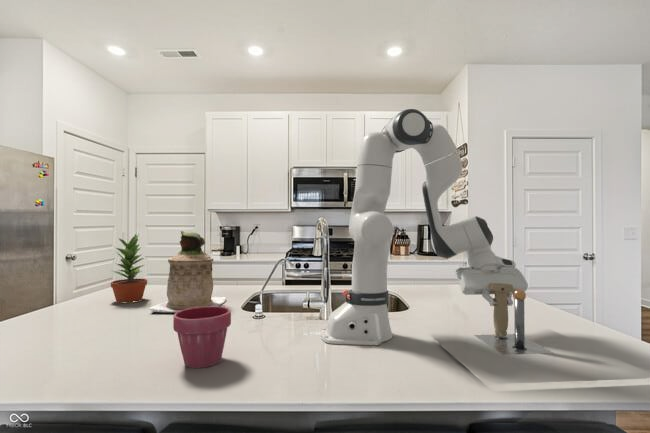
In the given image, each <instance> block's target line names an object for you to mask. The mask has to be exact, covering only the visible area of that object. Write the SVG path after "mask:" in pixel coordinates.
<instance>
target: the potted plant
mask: <svg viewBox="0 0 650 433" xmlns="http://www.w3.org/2000/svg"><path fill="white" fill-rule="evenodd" d="M139 235H140V234H139V233H138V234H137V235H135V236H134V235H133V237H132V238H131V239H130V241H129V242H128V243H127V242H126V241H125V240H124V239H122V238H119V237H117V238H118V240H119V241H120V242H121V243H122V244H123V246H124V247H125V249H124V248H119V247H115V249H116V250H117V251H119V252H120V253H119V252H117V254H118V256H119V257H120V260H119V261H120V262H121V263H116V262H115V265H116V266H119V267H121V268H122V269H118V270H110V271H111V272H113V273H115V274H118V275H120V276H123V277H124V278H123V279H118V280H116V279H115V280H112V281H111V282H110V288H111V289H112V291H113V292H112V293H113V295H114V299H115V302H116V301H117V302H133V301H138V302H140V301H139V300H141V299H142V300H143V296H144V293H145V290H146V286H147V285H148V279H147V278H136V276H137V275H138V274H140V273H142V272H143V270H140V268H142V267H144V266H145V265H146V264H142V265H139V266H135V264H137V263H139V262H140V261H142V260H144V259H145V257H142V258H139V257H141V256H142V255H143V254H142V253H140V254H139V255H138V254H137V253H138V251H140V250H141V248H142V247H139V246H140V243H138V241H139V239H138V238H139ZM137 243H138V244H137ZM121 254H122V255H121ZM123 256H124V257H123ZM138 258H139V259H138ZM142 300H141V301H142ZM117 302H116V303H117Z"/></svg>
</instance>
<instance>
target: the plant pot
mask: <svg viewBox="0 0 650 433" xmlns="http://www.w3.org/2000/svg"><path fill="white" fill-rule="evenodd" d="M172 323H173V330H174V331H175V332H176V333H177V338H178V342H179V346H180V351H181V355H182V358H183V359H182V360H183V363H184V365H185V366H186V367H188V368H194V369H201V368H207V367H212V366H215V365H217V364H219V363H220V362H221V361H222V358H223V352H224V348H225V341H226V338H227V332H228V328H229V327H230V326H231V324H232V311H231V308H229V307H226V306H221V305H219V306H205V307H195V308H189V309H185V310H181V311H179V312H174V314H173V322H172Z"/></svg>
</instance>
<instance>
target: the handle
mask: <svg viewBox="0 0 650 433" xmlns="http://www.w3.org/2000/svg"><path fill="white" fill-rule="evenodd" d="M489 288H490V289H491V290H493V291H494V292H495V294H494V298H495V299H496V301H497V305H496V306H493V318H492V319H493V327H494V334H496V335H498V336H506V335H507V334H508V328H509V306H508V304H507V293H508V292H510V291H512V290H513V285H510V284H501V283H490V284H489Z"/></svg>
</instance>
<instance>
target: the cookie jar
mask: <svg viewBox="0 0 650 433" xmlns="http://www.w3.org/2000/svg"><path fill="white" fill-rule="evenodd" d="M180 234H181V236H180V241H179V244H180V247H181V250H180V251H179V252H178V253H176V254H175V255H174V256H172V257H169V258H167V261H168V264H169V273H168V279H167V287H166V297H167V299H168V300H166V301H165V302H162V303H158V304H156V305H153V306H150V307H148V308H149V310H150V313H177V312H179V311H181V310H185V309H189V308H195V307H205V306H221V305H222V304H224V303H225V302H226V300H227V297H226V296H212V295H213V291H214V279H213V262H214V258H213V257H212V256H211V255H210V254H209V253H207V252H204V251H203V249H202V246H203V247H204V245H205V244H206V241H205V239H204V237H202V236H201V235H200V234H199V233H197V232H186V231H183V230H180Z"/></svg>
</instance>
